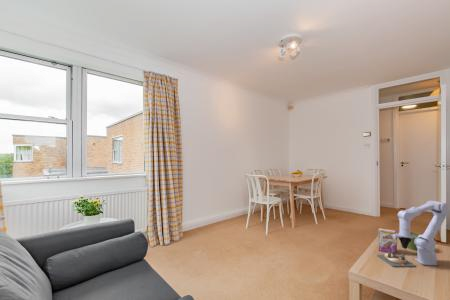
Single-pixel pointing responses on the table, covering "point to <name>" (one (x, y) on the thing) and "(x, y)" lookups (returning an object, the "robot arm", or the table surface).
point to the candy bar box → (387, 240)
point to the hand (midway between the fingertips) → (404, 248)
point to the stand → (396, 263)
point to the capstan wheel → (395, 257)
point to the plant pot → (411, 244)
